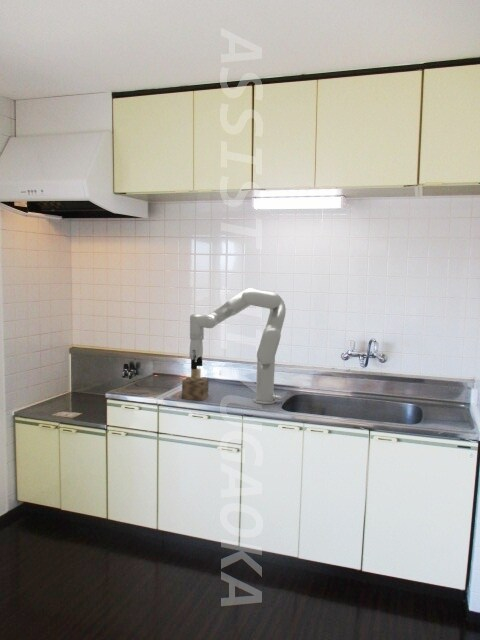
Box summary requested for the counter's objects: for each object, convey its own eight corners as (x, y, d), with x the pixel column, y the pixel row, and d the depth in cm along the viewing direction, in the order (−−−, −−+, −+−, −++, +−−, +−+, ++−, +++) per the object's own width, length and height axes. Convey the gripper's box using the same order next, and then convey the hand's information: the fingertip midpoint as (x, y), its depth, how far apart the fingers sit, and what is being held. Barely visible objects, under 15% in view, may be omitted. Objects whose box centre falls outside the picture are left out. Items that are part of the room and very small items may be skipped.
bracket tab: (200, 384, 287) (200, 368, 286) (198, 386, 284) (198, 369, 283) (192, 384, 288) (192, 368, 287) (190, 385, 285) (191, 369, 284)
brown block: (208, 396, 290) (208, 378, 289) (202, 400, 280) (203, 382, 279) (187, 394, 293) (188, 377, 292) (181, 398, 283) (182, 380, 282)
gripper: (195, 334, 292) (195, 364, 294) (185, 338, 276) (185, 370, 277) (207, 335, 291) (207, 365, 292) (198, 338, 274) (198, 370, 275)
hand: (196, 367), depth 285 cm, fingers open, 9 cm apart
